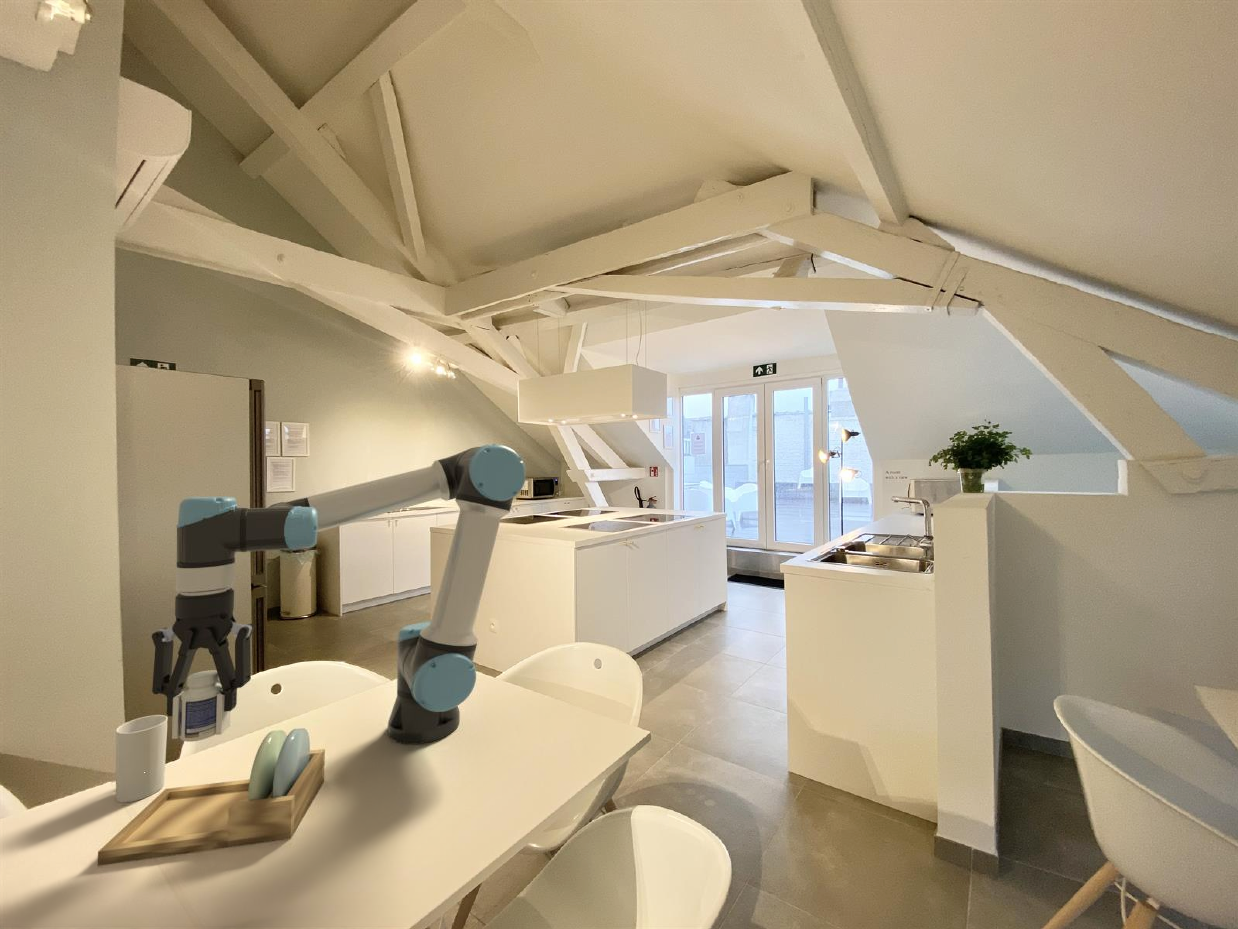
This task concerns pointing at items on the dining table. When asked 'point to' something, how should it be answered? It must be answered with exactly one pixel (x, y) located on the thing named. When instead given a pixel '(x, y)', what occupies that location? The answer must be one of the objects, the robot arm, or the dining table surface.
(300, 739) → the plate blue
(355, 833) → the dining table surface
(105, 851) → the dish rack
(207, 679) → the pill bottle
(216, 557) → the robot arm
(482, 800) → the dining table surface
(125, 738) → the mug
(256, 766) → the plate sage
